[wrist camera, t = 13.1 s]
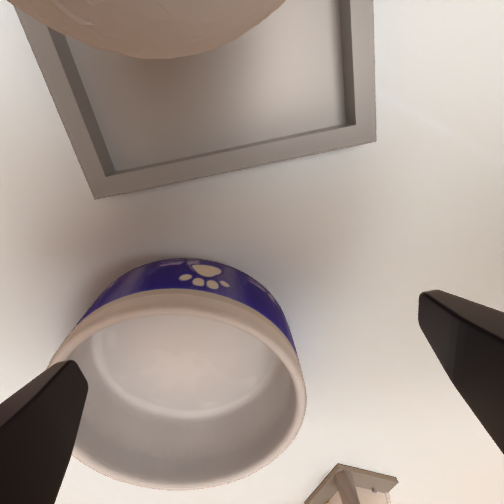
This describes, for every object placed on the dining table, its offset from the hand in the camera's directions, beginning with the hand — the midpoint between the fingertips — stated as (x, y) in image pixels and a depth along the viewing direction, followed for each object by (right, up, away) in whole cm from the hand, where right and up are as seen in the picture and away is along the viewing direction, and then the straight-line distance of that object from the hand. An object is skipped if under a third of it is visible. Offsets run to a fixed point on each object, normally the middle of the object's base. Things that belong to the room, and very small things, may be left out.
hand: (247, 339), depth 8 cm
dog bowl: (-4, -5, +16) cm, 17 cm away
